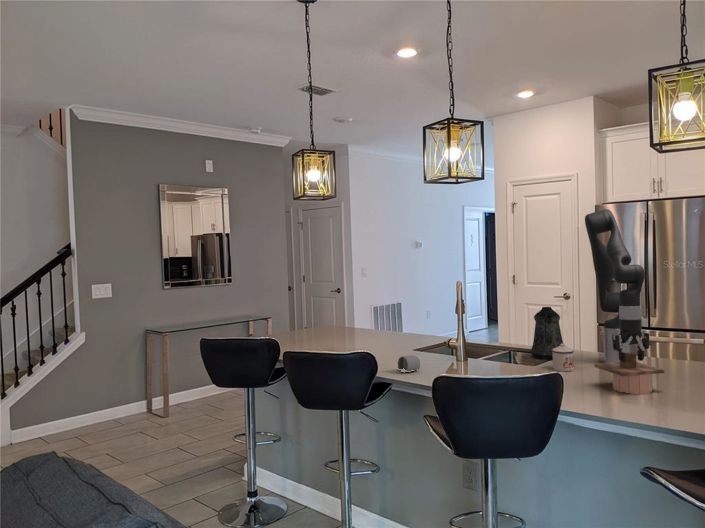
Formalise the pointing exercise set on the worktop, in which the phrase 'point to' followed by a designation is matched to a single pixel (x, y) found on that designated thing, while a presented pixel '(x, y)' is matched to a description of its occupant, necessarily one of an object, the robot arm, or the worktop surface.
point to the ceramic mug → (409, 363)
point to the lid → (629, 367)
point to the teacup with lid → (563, 358)
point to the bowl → (633, 383)
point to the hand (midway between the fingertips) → (631, 361)
